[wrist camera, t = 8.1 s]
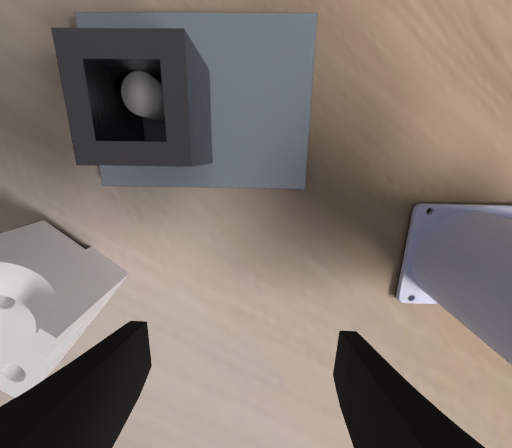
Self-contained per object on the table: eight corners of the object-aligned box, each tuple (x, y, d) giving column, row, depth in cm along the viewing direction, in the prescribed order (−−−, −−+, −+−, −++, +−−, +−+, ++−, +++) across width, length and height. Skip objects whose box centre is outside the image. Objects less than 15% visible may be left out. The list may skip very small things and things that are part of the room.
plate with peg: (313, 22, 15) (335, -33, 10) (302, 187, 17) (316, 197, 13) (86, 21, 15) (15, -33, 11) (111, 184, 18) (62, 193, 13)
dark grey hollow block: (209, 69, 15) (184, 28, 10) (212, 163, 16) (192, 166, 11) (119, 69, 15) (51, 27, 10) (131, 162, 16) (76, 164, 11)
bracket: (54, 217, 19) (-76, 256, 12) (131, 271, 20) (56, 338, 13) (-13, 322, 22) (-151, 407, 15) (57, 365, 23) (-38, 463, 16)
